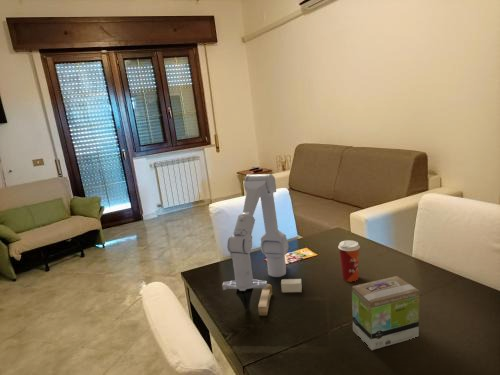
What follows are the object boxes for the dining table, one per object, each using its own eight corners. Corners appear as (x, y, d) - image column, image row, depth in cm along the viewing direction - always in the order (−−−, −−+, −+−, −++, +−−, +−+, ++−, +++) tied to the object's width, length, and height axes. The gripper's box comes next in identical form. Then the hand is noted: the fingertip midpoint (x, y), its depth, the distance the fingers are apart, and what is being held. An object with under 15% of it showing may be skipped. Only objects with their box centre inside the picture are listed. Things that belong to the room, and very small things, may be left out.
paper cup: (356, 285, 131) (354, 248, 128) (336, 280, 136) (334, 245, 133) (364, 276, 137) (363, 241, 134) (345, 272, 142) (343, 238, 139)
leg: (263, 292, 131) (262, 284, 131) (273, 291, 131) (272, 283, 130) (257, 315, 117) (256, 306, 117) (268, 315, 117) (267, 306, 116)
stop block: (282, 288, 133) (281, 279, 132) (301, 287, 132) (301, 278, 131) (281, 292, 130) (281, 283, 129) (301, 292, 129) (300, 283, 128)
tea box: (372, 352, 97) (370, 302, 93) (352, 331, 106) (349, 285, 103) (420, 338, 100) (420, 289, 97) (396, 318, 110) (395, 273, 106)
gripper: (218, 276, 115) (223, 315, 118) (263, 275, 113) (267, 314, 115) (223, 266, 122) (228, 303, 125) (266, 265, 119) (270, 302, 122)
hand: (247, 308), depth 121 cm, fingers closed
